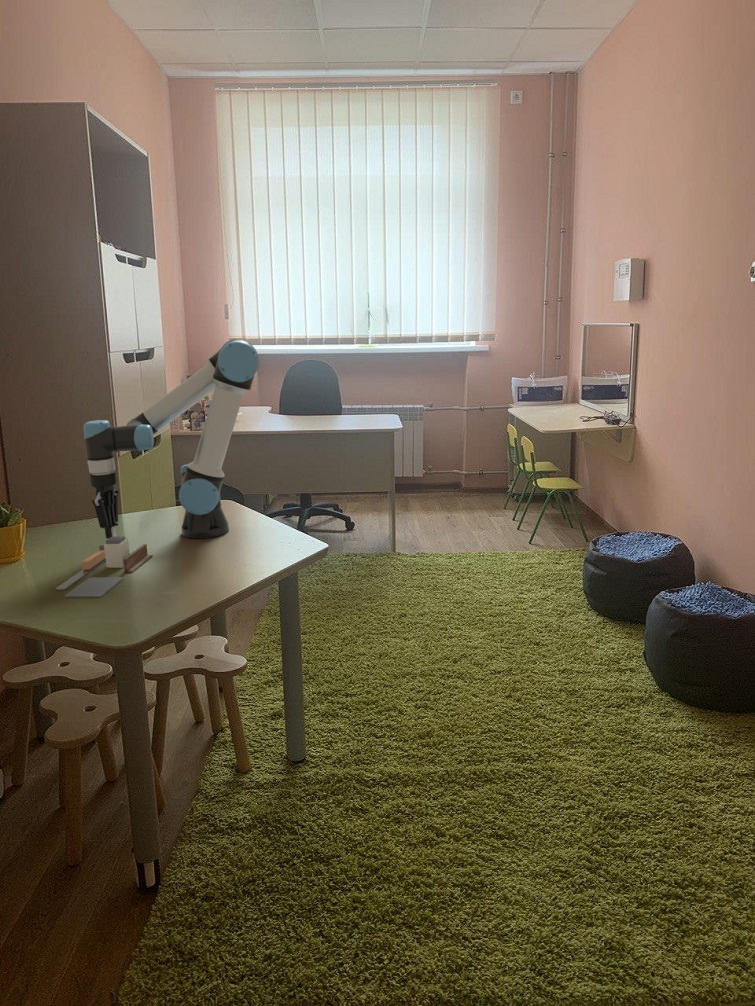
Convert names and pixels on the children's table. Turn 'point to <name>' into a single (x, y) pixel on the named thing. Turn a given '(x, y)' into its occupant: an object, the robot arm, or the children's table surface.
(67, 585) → the track
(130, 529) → the children's table surface
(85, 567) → the bar
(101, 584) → the felt mat
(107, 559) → the plug block
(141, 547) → the fence
